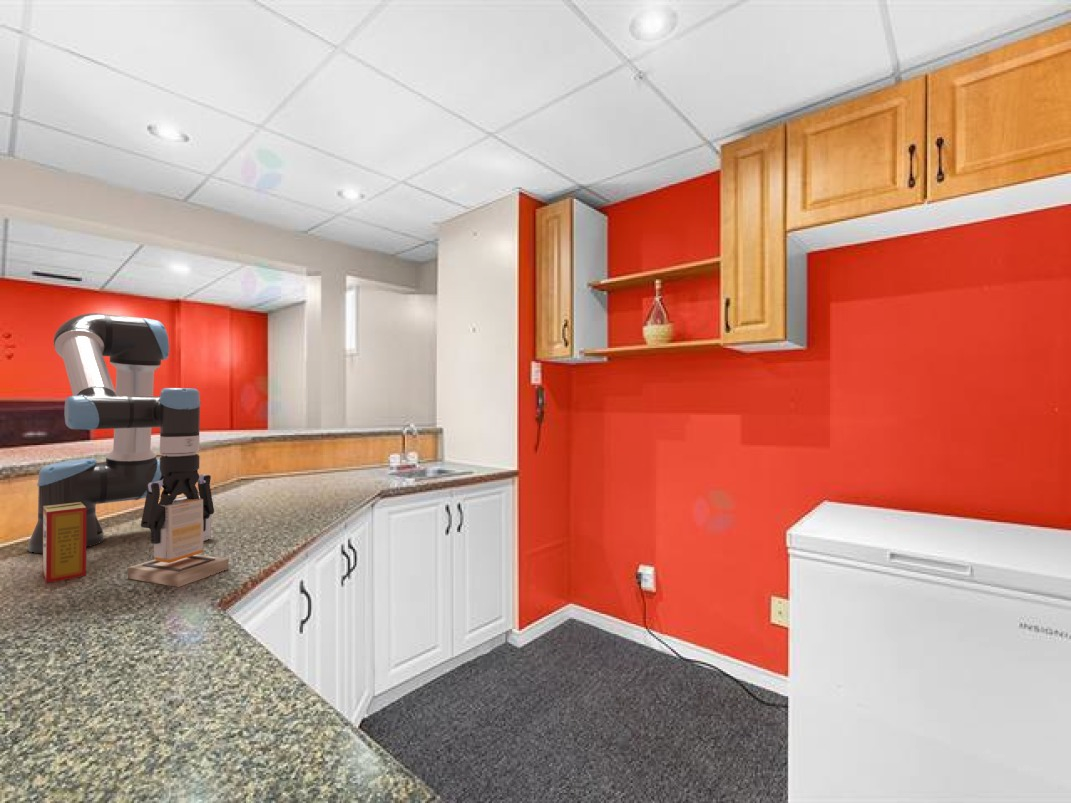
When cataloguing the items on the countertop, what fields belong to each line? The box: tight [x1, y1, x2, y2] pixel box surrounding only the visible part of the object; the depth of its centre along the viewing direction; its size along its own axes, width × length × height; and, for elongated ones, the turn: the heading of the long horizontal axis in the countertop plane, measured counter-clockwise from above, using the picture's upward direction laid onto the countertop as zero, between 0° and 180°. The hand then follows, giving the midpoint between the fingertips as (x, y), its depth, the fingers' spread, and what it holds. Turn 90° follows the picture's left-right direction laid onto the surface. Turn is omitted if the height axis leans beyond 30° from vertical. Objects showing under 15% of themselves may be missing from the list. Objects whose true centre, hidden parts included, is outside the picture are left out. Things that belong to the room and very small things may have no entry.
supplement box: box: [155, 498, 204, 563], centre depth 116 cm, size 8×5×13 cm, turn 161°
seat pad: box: [127, 554, 229, 588], centre depth 116 cm, size 16×12×3 cm
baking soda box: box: [42, 502, 87, 584], centre depth 115 cm, size 10×6×16 cm
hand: (179, 551), depth 116 cm, fingers closed on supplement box, 8 cm apart
